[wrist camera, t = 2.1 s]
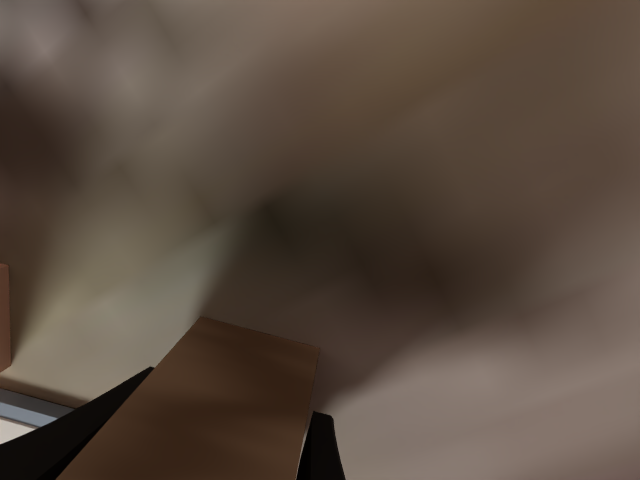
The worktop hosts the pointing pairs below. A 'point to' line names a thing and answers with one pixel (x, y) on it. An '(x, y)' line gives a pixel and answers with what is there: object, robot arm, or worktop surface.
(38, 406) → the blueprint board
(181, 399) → the walnut pillar
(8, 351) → the terracotta pillar
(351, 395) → the worktop surface
